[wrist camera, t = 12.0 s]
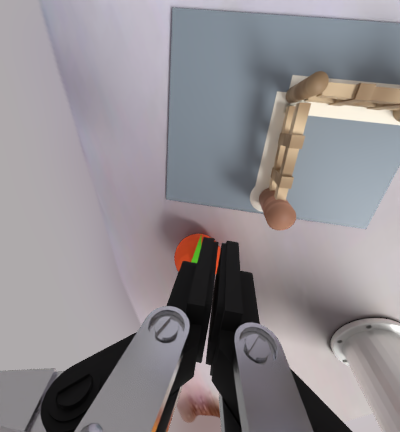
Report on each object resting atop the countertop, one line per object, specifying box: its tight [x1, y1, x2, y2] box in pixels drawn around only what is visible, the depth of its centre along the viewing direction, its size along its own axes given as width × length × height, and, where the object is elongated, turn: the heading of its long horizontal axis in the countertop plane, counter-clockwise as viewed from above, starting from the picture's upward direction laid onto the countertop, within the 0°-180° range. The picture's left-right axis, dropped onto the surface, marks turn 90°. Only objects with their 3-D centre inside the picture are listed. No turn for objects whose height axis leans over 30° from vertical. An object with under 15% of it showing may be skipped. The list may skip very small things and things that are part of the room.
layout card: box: [166, 7, 400, 229], centre depth 24 cm, size 28×21×1 cm
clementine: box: [174, 234, 221, 275], centre depth 29 cm, size 8×7×7 cm
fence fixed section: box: [286, 71, 400, 122], centre depth 18 cm, size 14×3×7 cm, turn 84°
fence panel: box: [259, 103, 311, 230], centre depth 22 cm, size 12×3×6 cm, turn 176°
